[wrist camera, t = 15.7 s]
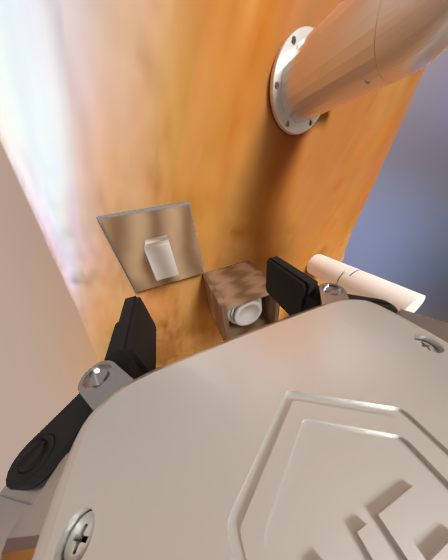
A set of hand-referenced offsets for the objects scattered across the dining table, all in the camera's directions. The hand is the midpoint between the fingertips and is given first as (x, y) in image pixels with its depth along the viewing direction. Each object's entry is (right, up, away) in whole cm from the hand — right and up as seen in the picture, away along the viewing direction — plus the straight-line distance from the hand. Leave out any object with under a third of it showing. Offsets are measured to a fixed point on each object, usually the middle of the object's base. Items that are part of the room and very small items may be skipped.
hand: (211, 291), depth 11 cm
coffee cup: (+2, -1, +34) cm, 34 cm away
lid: (-12, +7, +21) cm, 26 cm away
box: (+2, -1, +33) cm, 33 cm away
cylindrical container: (+32, +6, +43) cm, 54 cm away
